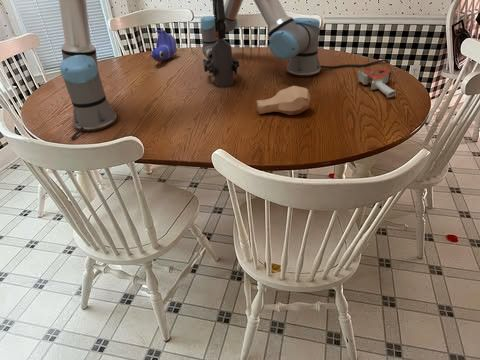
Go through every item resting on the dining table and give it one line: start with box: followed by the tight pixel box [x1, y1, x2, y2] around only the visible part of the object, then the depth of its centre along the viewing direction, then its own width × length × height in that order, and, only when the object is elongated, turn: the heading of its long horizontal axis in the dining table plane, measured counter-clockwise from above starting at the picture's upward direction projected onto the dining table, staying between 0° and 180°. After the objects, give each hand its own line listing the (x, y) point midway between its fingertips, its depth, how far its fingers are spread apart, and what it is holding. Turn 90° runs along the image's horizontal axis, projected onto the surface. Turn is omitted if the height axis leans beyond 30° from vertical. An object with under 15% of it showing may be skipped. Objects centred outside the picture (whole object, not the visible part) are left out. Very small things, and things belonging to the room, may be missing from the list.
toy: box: [150, 29, 178, 66], centre depth 185 cm, size 10×17×25 cm
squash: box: [255, 85, 312, 116], centre depth 130 cm, size 11×20×9 cm, turn 92°
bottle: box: [212, 38, 235, 88], centre depth 153 cm, size 8×8×21 cm
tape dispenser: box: [357, 66, 396, 99], centre depth 144 cm, size 18×5×20 cm
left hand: (220, 36), depth 147 cm, fingers open, 6 cm apart
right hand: (225, 71), depth 151 cm, fingers closed on bottle, 8 cm apart
